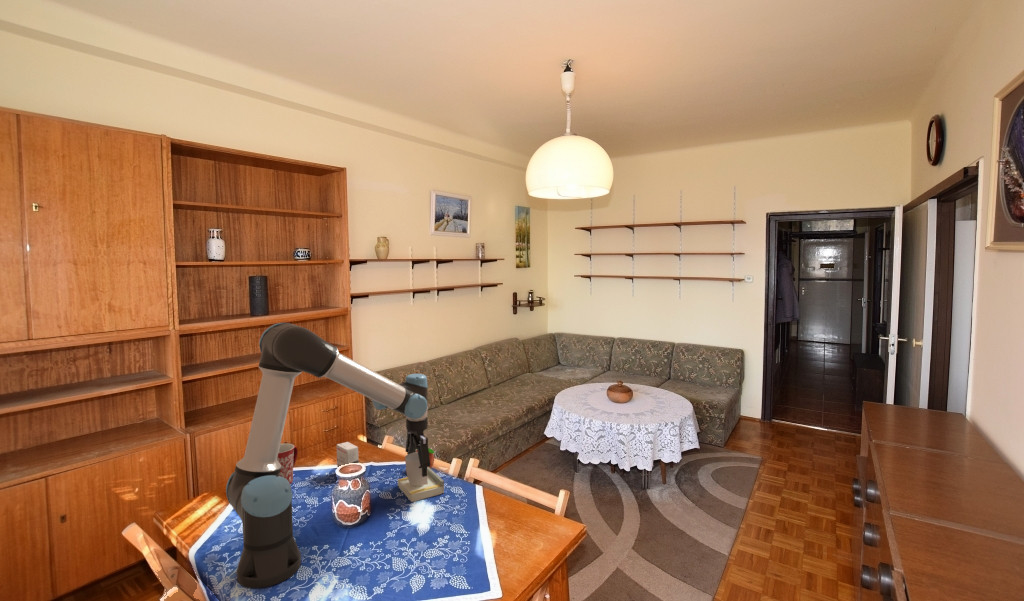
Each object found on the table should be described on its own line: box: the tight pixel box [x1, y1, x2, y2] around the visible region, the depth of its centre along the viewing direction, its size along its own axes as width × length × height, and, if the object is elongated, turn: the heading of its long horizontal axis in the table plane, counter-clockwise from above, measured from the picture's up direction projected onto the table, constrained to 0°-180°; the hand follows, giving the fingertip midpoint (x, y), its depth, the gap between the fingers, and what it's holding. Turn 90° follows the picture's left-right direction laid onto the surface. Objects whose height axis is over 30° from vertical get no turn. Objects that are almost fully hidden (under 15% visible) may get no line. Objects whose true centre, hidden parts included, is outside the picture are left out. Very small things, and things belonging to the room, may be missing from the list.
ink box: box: [336, 441, 360, 467], centre depth 185 cm, size 9×5×12 cm, turn 47°
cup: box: [404, 452, 428, 487], centre depth 173 cm, size 8×8×10 cm
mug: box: [277, 443, 299, 485], centre depth 180 cm, size 13×9×14 cm
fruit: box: [416, 447, 435, 470], centre depth 190 cm, size 9×10×10 cm
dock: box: [397, 467, 445, 503], centre depth 174 cm, size 14×12×4 cm
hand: (417, 478), depth 173 cm, fingers open, 10 cm apart
